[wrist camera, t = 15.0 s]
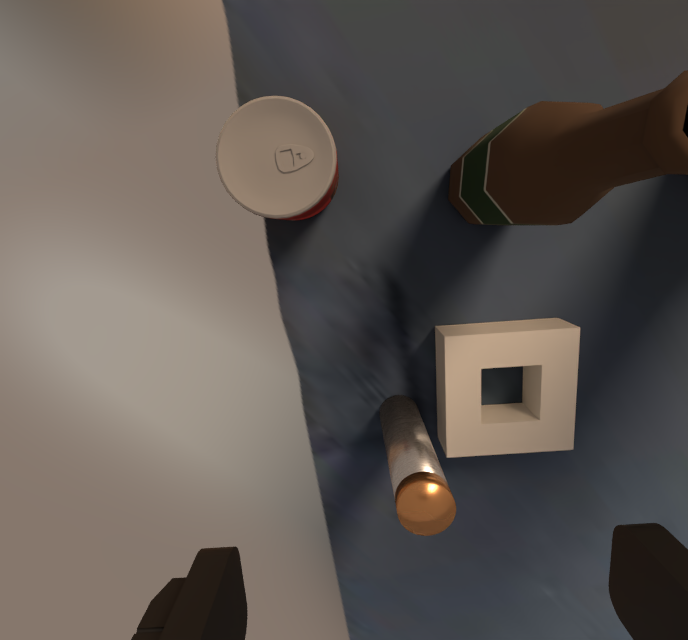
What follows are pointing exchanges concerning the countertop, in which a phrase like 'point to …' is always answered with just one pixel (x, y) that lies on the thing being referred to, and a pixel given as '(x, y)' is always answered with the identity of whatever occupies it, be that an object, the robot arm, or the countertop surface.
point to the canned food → (278, 159)
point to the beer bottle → (570, 157)
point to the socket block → (537, 394)
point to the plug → (415, 469)
